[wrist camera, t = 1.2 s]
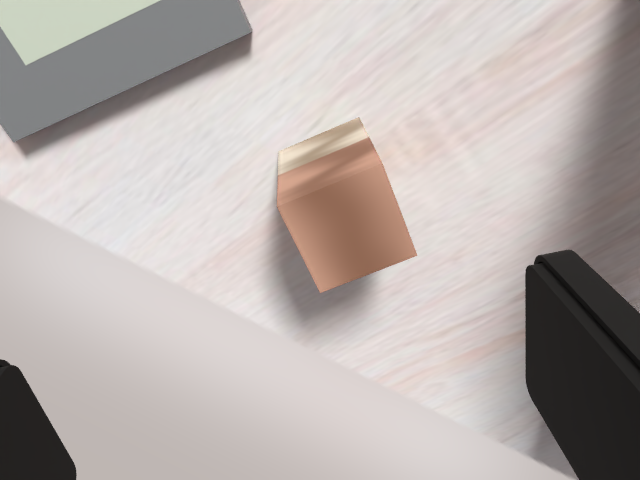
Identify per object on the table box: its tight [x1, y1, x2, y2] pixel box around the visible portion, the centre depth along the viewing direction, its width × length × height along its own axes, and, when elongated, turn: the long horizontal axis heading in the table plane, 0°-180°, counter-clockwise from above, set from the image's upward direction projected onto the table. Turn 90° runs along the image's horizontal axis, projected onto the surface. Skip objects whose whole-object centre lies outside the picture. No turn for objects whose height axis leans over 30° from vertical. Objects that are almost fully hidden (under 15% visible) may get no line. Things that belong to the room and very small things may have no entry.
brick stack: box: [277, 117, 417, 293], centre depth 28 cm, size 5×5×8 cm
